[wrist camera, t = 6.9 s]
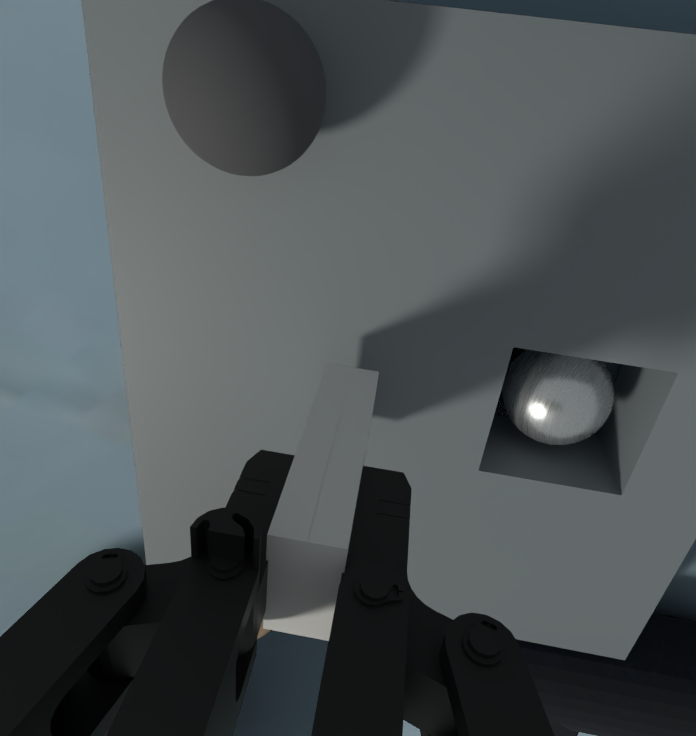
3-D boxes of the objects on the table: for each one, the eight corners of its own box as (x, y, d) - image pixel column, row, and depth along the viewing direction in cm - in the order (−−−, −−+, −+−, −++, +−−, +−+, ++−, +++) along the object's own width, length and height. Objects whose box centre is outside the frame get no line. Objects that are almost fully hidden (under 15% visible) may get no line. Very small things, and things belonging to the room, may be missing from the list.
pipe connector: (664, 865, 25) (338, 794, 26) (629, 742, 30) (353, 686, 31) (785, 721, 20) (365, 639, 21) (718, 597, 24) (379, 536, 26)
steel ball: (472, 428, 19) (565, 482, 17) (496, 339, 17) (601, 387, 15) (523, 396, 21) (610, 440, 19) (548, 314, 19) (647, 353, 17)
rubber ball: (201, 153, 14) (139, 178, 11) (197, -5, 13) (122, -24, 10) (331, 171, 14) (302, 201, 11) (345, 11, 12) (314, -3, 9)
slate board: (181, 507, 26) (146, 567, 23) (147, -17, 16) (77, -35, 13) (601, 585, 24) (624, 660, 21) (858, 63, 14) (971, 65, 11)
